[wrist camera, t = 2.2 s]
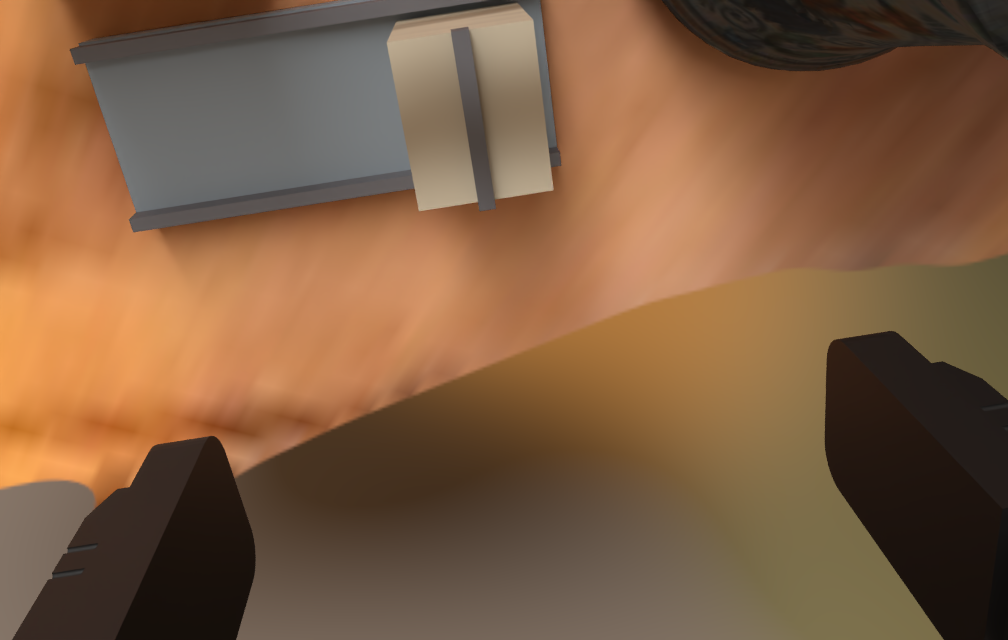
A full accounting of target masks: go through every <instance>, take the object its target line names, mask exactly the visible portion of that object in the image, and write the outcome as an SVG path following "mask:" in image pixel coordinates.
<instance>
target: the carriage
mask: <svg viewBox="0 0 1008 640" xmlns="http://www.w3.org/2000/svg"><path fill="white" fill-rule="evenodd" d="M387 47H388V53H389V58H390V63H391V68H392V73H393V79H394V84H395V89H396V94H397V99H398V105H399V110H400V115H401V120H402V125H403V131H404V136H405V141H406V146H407V151H408V157H409V162H410V167H411V172H412V177H413V183H414V188H415V193H416V198H417V204H418V209H419V211H424V210H431V209H437V208H443V207H450V206H456V205H463V204H469V203H475V202H478V205H479V211H485V210H491V209H496V206H495V199H501V198H508V197H514V196H520V195H527V194H533V193H540V192H546V191H552V190H553V182H552V173H551V165H550V156H549V148H548V140H547V131H546V123H545V115H544V106H543V98H542V89H541V81H540V73H539V64H538V56H537V47H536V39H535V31H534V22H533V19H532V18H531V17H530V16H529V15H528V14H527V13H526V12H525V10H524V9H523V8H522V7H521V6H520V5H519V4H518V3H517V2H514V3H508V4H501V5H495V6H489V7H482V8H476V9H469V10H463V11H457V12H450V13H444V14H437V15H431V16H424V17H418V18H412V19H405V20H399V21H396V23H395V25H394V27H393V30H392V32H391V34H390V36H389V38H388V41H387Z"/></svg>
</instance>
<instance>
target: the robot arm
mask: <svg viewBox="0 0 1008 640" xmlns="http://www.w3.org/2000/svg"><path fill="white" fill-rule="evenodd" d="M825 413H826V414H825V451H826V457H827V461H828V466H829V469H830V472H831V475H832V477H833V480H834V482H835V484H836V486H837V488H838V489H839V491H840V492H841V493H842V495H843V496H844V498H845V499H846V501H847V502H848V504H849V505H850V507H851V508H852V509H853V511H854V512H855V514H856V515H857V516H858V518H859V519H860V521H861V522H862V524H863V525H864V526H865V528H866V529H867V531H868V532H869V534H870V535H871V536H872V538H873V539H874V541H875V542H876V544H877V545H878V546H879V548H880V549H881V551H882V552H883V553H884V555H885V556H886V558H887V559H888V561H889V562H890V564H891V565H892V566H893V568H894V569H895V571H896V572H897V574H898V575H899V576H900V578H901V579H902V581H903V582H904V584H905V585H906V586H907V588H908V589H909V591H910V592H911V594H912V595H913V596H914V598H915V599H916V601H917V602H918V604H919V605H920V606H921V608H922V609H923V611H924V612H925V614H926V615H927V616H928V618H929V619H930V621H931V622H932V624H933V625H934V626H935V628H936V629H937V631H938V632H939V633H940V635H941V636H942V637H943V639H944V640H1008V400H1007V399H1006V398H1004V397H1003V396H1002V395H1001V394H1000V393H999V392H997V391H996V390H995V389H994V388H993V387H991V386H990V385H989V384H988V383H987V382H986V381H984V380H983V379H982V378H979V377H977V376H975V375H973V374H970V373H968V372H965V371H963V370H961V369H959V368H956V367H954V366H952V365H950V364H947V363H945V362H936V363H930V362H929V361H928V360H927V359H926V358H925V357H924V356H923V355H921V354H920V353H919V352H918V351H917V350H916V349H915V348H914V347H913V346H912V345H910V344H909V343H908V342H907V341H906V340H905V339H904V338H902V337H901V336H900V335H899V334H898V333H896V332H894V331H888V332H881V333H875V334H868V335H862V336H856V337H849V338H843V339H837V340H834V341H832V342H831V344H830V346H829V349H828V353H827V371H826V410H825ZM67 549H68V553H67V554H63V556H62V558H61V559H60V561H59V563H58V564H57V566H56V567H55V569H54V571H53V572H52V574H53V578H52V579H49V580H48V581H47V583H46V584H45V586H44V587H43V589H42V591H41V593H40V594H39V596H38V597H37V599H36V601H35V603H34V604H33V606H32V607H31V610H30V611H29V613H28V614H27V616H26V617H25V619H24V621H23V623H22V624H21V626H20V627H19V629H18V631H17V632H16V634H15V636H14V638H13V639H12V640H236V638H237V635H238V631H239V628H240V624H241V621H242V617H243V614H244V610H245V607H246V603H247V600H248V596H249V593H250V589H251V586H252V583H253V579H254V573H255V558H256V557H255V544H254V538H253V533H252V530H251V527H250V524H249V520H248V517H247V515H246V512H245V509H244V506H243V503H242V500H241V497H240V494H239V491H238V488H237V485H236V482H235V479H234V476H233V473H232V470H231V467H230V464H229V461H228V458H227V456H226V453H225V450H224V448H223V446H222V444H221V442H220V441H219V440H218V439H217V438H216V437H214V436H208V437H202V438H196V439H189V440H183V441H177V442H170V443H164V444H157V445H155V446H153V447H152V448H151V450H150V451H149V453H148V455H147V457H146V459H145V460H144V462H143V464H142V466H141V468H140V469H139V471H138V473H137V475H136V477H135V478H134V480H133V482H132V484H131V486H130V487H128V488H122V489H117V490H116V491H115V492H113V493H112V494H111V495H110V496H109V497H108V498H107V499H106V500H104V501H103V502H102V503H101V504H100V505H99V506H98V507H97V508H96V509H94V510H93V511H92V512H91V513H90V514H89V515H88V516H87V517H86V518H85V519H84V521H83V522H82V524H81V526H80V528H79V529H78V531H77V532H76V534H75V536H74V537H73V539H72V541H71V543H70V544H69V546H68V548H67Z"/></svg>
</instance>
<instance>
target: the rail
mask: <svg viewBox="0 0 1008 640" xmlns="http://www.w3.org/2000/svg"><path fill="white" fill-rule="evenodd" d="M514 2H517V3H518V4H519V5H520V6H521V7H522V8H523V9H524V10H525V12H526V13H527V14H528V15H529V16H530V17H531V18H532V19H533V22H534V31H535V39H536V47H537V56H538V64H539V73H540V81H541V89H542V98H543V106H544V115H545V123H546V131H547V140H548V148H549V156H550V165H551V167H555V166H561V158H560V152H559V150H558V148H557V143H556V134H555V125H554V116H553V108H552V99H551V90H550V82H549V73H548V64H547V55H546V47H545V38H544V29H543V21H542V12H541V3H540V0H339V1H332V2H326V3H320V4H313V5H307V6H300V7H294V8H288V9H281V10H275V11H268V12H262V13H256V14H249V15H243V16H236V17H230V18H223V19H217V20H211V21H204V22H198V23H191V24H185V25H179V26H172V27H166V28H159V29H153V30H146V31H140V32H134V33H127V34H121V35H114V36H108V37H102V38H95V39H91V40H88V41H85V42H82V43H79V46H78V47H75V48H72V49H70V51H71V54H72V57H73V60H74V63H75V65H76V64H82V63H85V64H86V67H87V70H88V73H89V76H90V78H91V81H92V84H93V87H94V90H95V93H96V96H97V99H98V102H99V105H100V108H101V111H102V113H103V116H104V119H105V122H106V125H107V128H108V131H109V134H110V137H111V140H112V143H113V146H114V148H115V151H116V154H117V157H118V160H119V163H120V166H121V169H122V172H123V175H124V178H125V181H126V184H127V186H128V189H129V192H130V195H131V198H132V201H133V204H134V207H135V210H136V213H135V214H134V215H133V216H132V217H131V218H130V219H129V221H130V224H131V227H132V230H133V232H139V231H145V230H152V229H158V228H164V227H171V226H177V225H184V224H190V223H196V222H203V221H209V220H216V219H222V218H228V217H235V216H241V215H248V214H254V213H261V212H267V211H273V210H280V209H286V208H293V207H299V206H305V205H312V204H318V203H325V202H331V201H337V200H344V199H350V198H357V197H363V196H370V195H376V194H382V193H389V192H395V191H402V190H408V189H414V183H413V177H412V172H411V167H410V162H409V157H408V151H407V146H406V141H405V136H404V131H403V125H402V120H401V115H400V110H399V105H398V99H397V94H396V89H395V84H394V79H393V73H392V68H391V63H390V58H389V53H388V47H387V41H388V38H389V36H390V34H391V32H392V30H393V27H394V25H395V23H396V21H399V20H405V19H412V18H418V17H424V16H431V15H437V14H444V13H450V12H457V11H463V10H469V9H476V8H482V7H489V6H495V5H501V4H508V3H514Z"/></svg>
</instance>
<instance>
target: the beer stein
mask: <svg viewBox="0 0 1008 640" xmlns="http://www.w3.org/2000/svg"><path fill="white" fill-rule="evenodd" d="M662 1H663V3H664V4H665V5H666V6H667V7H668V9H669V10H670V11H671V12H672V13H673V15H674V16H675V17H676V18H677V19H678V20H679V21H680V22H681V23H682V24H683V25H684V26H685V27H686V28H687V29H689V30H690V31H691V32H692V33H694V34H695V35H696V36H698V37H699V38H700V39H702V40H703V41H704V42H705V43H707V44H709V45H710V46H712V47H714V48H716V49H717V50H719V51H721V52H723V53H724V54H726V55H728V56H730V57H733V58H735V59H738V60H741V61H744V62H747V63H749V64H752V65H755V66H760V67H765V68H770V69H777V70H787V71H821V70H828V69H835V68H841V67H845V66H849V65H854V64H858V63H862V62H864V61H867V60H870V59H872V58H875V57H878V56H880V55H883V54H885V53H888V52H890V51H892V50H893V49H895V48H897V47H910V46H949V45H985V46H987V47H989V48H991V49H993V50H994V51H995V52H997V53H998V54H1000V55H1001V56H1002V57H1004V58H1005V59H1007V60H1008V0H662Z"/></svg>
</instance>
